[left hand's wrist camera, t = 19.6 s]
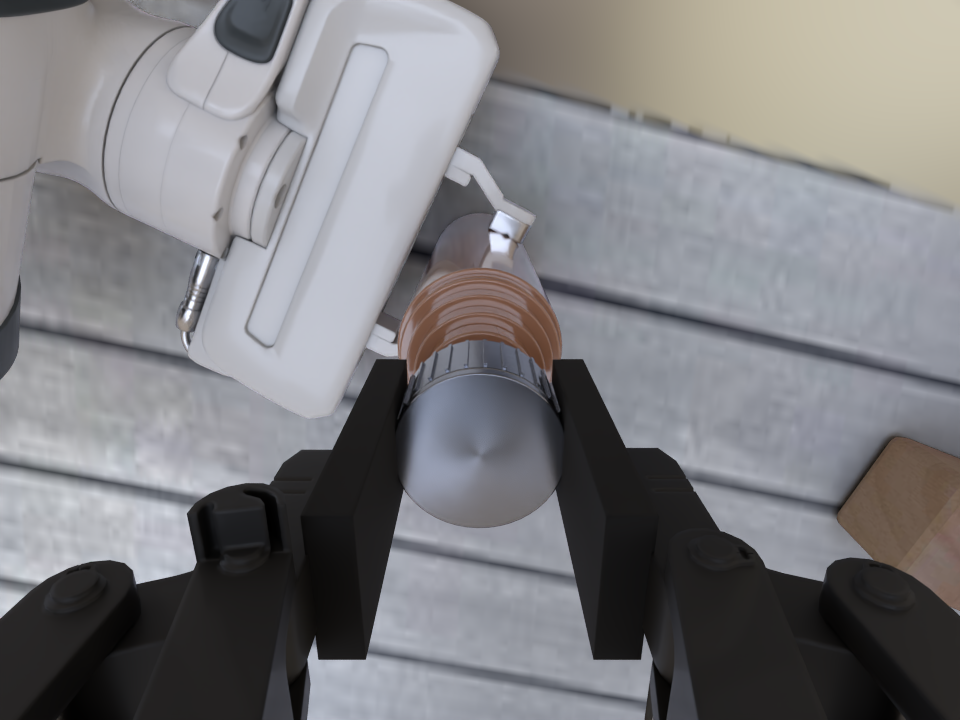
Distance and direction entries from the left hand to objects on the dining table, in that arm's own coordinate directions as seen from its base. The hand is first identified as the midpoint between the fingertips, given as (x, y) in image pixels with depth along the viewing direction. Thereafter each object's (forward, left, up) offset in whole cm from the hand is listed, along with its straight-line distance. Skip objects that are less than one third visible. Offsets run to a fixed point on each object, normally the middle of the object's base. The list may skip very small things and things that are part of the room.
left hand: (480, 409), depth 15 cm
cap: (0, 0, +2) cm, 2 cm away
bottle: (0, 0, -21) cm, 21 cm away
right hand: (-1, 0, -15) cm, 15 cm away
